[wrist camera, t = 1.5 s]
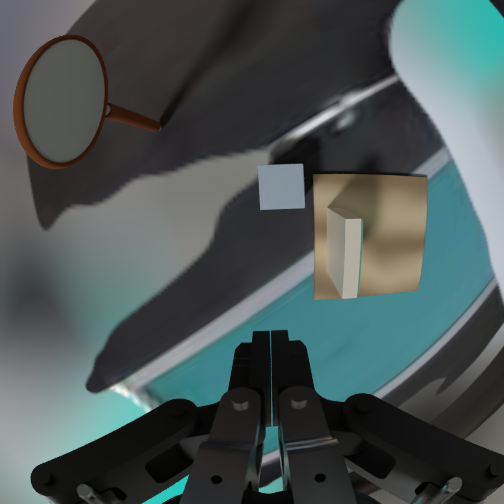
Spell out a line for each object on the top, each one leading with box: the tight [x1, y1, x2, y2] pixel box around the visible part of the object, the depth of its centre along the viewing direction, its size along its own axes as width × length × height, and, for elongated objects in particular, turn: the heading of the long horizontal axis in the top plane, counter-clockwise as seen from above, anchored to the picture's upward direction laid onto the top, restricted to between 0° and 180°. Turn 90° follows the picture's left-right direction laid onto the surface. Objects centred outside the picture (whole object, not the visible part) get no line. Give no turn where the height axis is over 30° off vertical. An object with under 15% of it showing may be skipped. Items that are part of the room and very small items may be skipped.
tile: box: [326, 207, 363, 299], centre depth 25 cm, size 7×2×7 cm, turn 4°
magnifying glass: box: [13, 35, 161, 169], centre depth 17 cm, size 9×2×20 cm, turn 173°
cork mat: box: [313, 174, 427, 300], centre depth 28 cm, size 14×14×1 cm
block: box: [258, 164, 305, 210], centre depth 26 cm, size 4×4×4 cm
